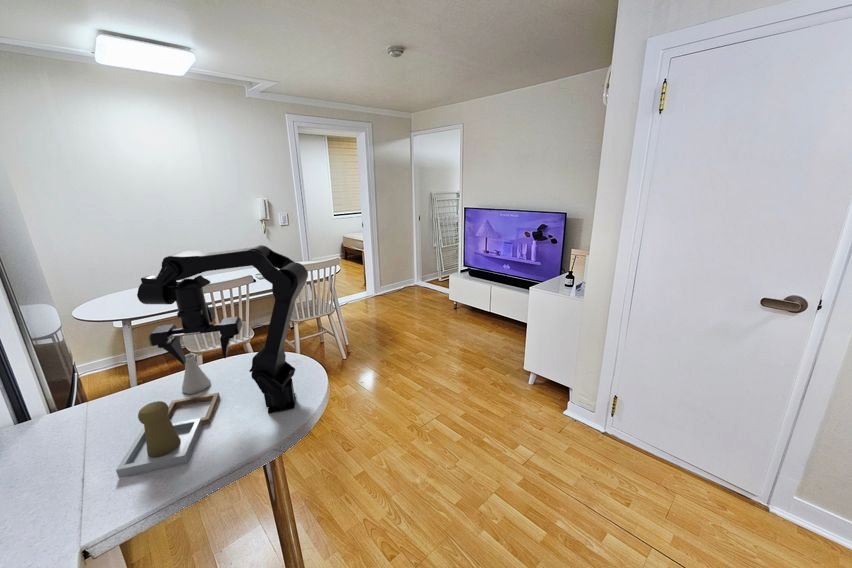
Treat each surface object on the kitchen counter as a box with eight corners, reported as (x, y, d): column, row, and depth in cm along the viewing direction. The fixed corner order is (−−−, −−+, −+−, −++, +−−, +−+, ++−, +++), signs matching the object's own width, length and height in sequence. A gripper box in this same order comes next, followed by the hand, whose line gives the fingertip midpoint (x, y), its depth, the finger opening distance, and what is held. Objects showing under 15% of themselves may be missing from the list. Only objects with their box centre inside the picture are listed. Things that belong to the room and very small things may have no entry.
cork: (163, 459, 73) (150, 417, 70) (140, 455, 75) (125, 413, 71) (187, 438, 79) (175, 398, 76) (165, 435, 80) (152, 395, 77)
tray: (202, 425, 84) (200, 417, 83) (187, 463, 73) (184, 455, 73) (144, 436, 81) (141, 429, 80) (119, 478, 70) (115, 470, 69)
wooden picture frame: (220, 397, 94) (218, 392, 94) (209, 423, 85) (208, 418, 84) (173, 405, 91) (172, 400, 91) (156, 434, 81) (155, 429, 81)
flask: (204, 376, 104) (197, 347, 101) (215, 385, 100) (208, 354, 97) (177, 388, 98) (168, 357, 95) (188, 398, 94) (179, 366, 91)
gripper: (240, 289, 93) (250, 340, 98) (159, 296, 87) (173, 351, 92) (232, 303, 83) (243, 360, 88) (139, 313, 77) (157, 373, 82)
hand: (205, 360), depth 88 cm, fingers open, 9 cm apart
